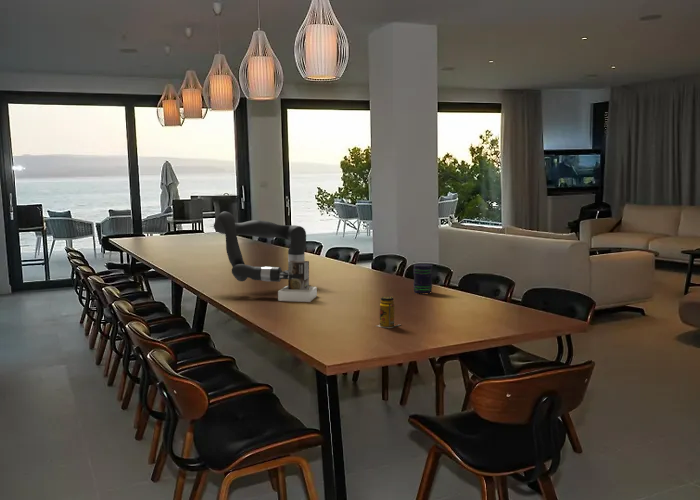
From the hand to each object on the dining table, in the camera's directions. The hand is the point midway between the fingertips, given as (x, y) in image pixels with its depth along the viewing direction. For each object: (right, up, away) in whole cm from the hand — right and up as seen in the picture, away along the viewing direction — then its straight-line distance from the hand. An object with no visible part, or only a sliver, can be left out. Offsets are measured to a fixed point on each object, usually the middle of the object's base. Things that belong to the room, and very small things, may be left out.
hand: (302, 275), depth 331 cm
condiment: (+40, -19, -60) cm, 74 cm away
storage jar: (+62, -10, +17) cm, 65 cm away
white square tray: (-2, -12, -1) cm, 12 cm away
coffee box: (-2, -9, +1) cm, 9 cm away
